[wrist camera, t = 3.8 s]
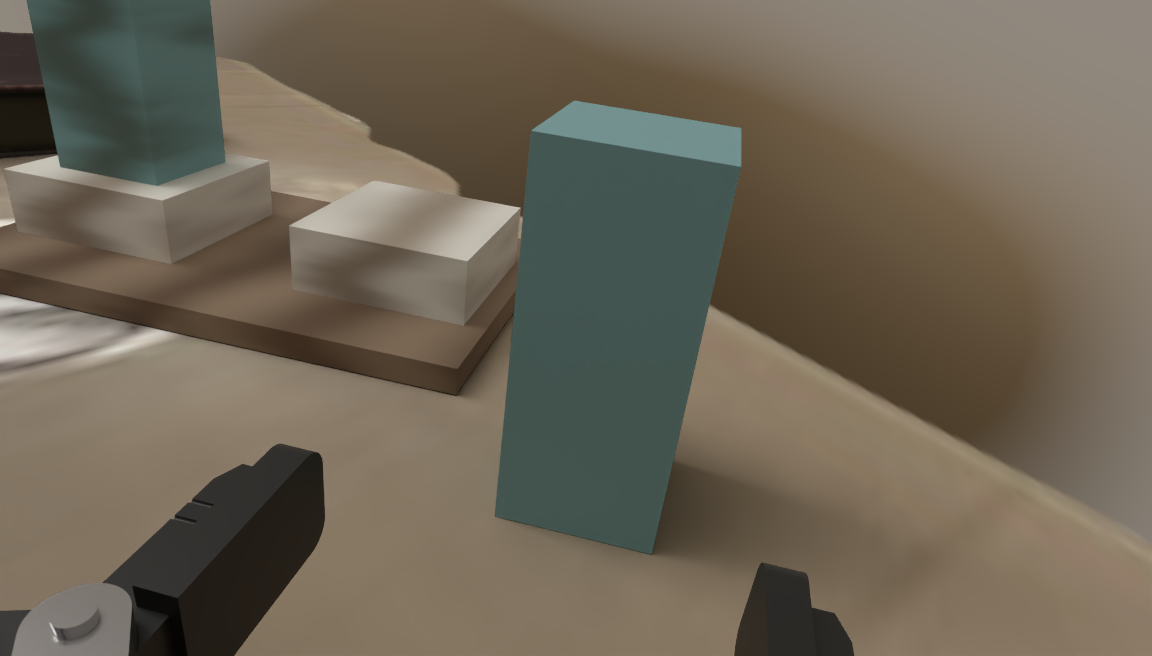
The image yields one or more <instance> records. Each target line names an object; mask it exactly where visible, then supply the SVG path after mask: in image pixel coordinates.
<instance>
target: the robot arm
mask: <svg viewBox="0 0 1152 656" xmlns="http://www.w3.org/2000/svg"><path fill="white" fill-rule="evenodd" d="M324 521H325V507H324V483H323V462H322V457H321V455H320V454H319V453H317V452H313V451H309V450H305V449H300V448H296V447H292V446H288V445H284V444H277V445H275V446H273V447H272V448H271V449H270V450H269V451H268V452H267V453H266V454H265V455H264V456H263V457H262V458H261V459H260V460H259V461H258V462H257V463H256V464H255V465H254V466H253V467H252V466H248V465H244V464H242V465H240V466H238V467H236V468H234V469H232V470H230V471H228V472H226V473H224V474H222V475H220V476H218V477H216V478H214V479H213V480H212V481H211V482H210V483H209V484H208V485H207V486H206V487H204V488H203V489H202V490H201V491H200V492H199V493H198V494H197V495H196V496H195V497H194V498H193V500H192V502H191V503H187V504H186V505H185V506H184V507H183V508H182V509H181V510H180V511H179V512H178V513H177V514H176V515H175V518H174V519H173V520H172V519H170V520H169V521H168V522H167V523H166V524H165V525H164V526H163V527H162V528H161V529H160V530H159V531H157V532H156V533H155V534H154V535H153V536H152V537H151V538H150V539H149V540H148V541H147V542H146V543H145V544H144V545H143V546H141V547H140V548H139V549H138V550H137V551H136V552H135V553H134V554H133V555H132V556H131V557H130V558H129V559H128V560H127V561H125V562H124V563H123V564H122V565H121V566H120V567H119V568H118V569H117V570H116V571H115V572H114V573H113V574H112V575H111V576H109V577H108V578H107V579H106V580H105V581H104V582H103V583H89V584H82V585H78V586H74V587H71V588H68V589H65V590H63V591H60V592H58V593H56V594H54V595H52V596H50V597H49V598H47V599H45V600H44V601H42V602H41V603H40V604H38V605H37V606H36V607H35V608H33V609H32V610H17V611H0V656H234V655H235V654H236V652H237V651H238V650H239V648H240V647H241V646H242V644H243V643H244V642H245V640H246V639H247V638H248V636H249V635H250V634H251V632H252V631H253V630H254V629H255V627H256V626H257V625H258V623H259V622H260V621H261V619H262V618H263V617H264V615H265V614H266V613H267V611H268V610H269V609H270V607H271V606H272V605H273V603H274V602H275V601H276V599H277V598H278V597H279V595H280V594H281V593H282V592H283V590H284V589H285V588H286V586H287V585H288V584H289V582H290V581H291V580H292V578H293V577H294V576H295V574H296V573H297V572H298V570H299V569H300V568H301V566H302V565H303V564H304V562H305V561H306V560H307V558H308V557H309V556H310V555H311V553H312V552H313V550H314V549H315V547H316V545H317V543H318V541H319V539H320V537H321V534H322V530H323V527H324ZM734 656H854V652H853V646H852V642H851V640H850V638H849V637H848V635H847V633H846V632H845V630H844V628H843V627H842V625H841V623H840V622H839V620H838V618H837V616H836V615H835V613H831V612H827V611H823V610H819V609H815V608H812V607H811V598H810V589H809V581H808V576H807V574H806V573H803V572H799V571H795V570H791V569H787V568H783V567H779V566H775V565H771V564H767V563H761V564H760V566H759V568H758V570H757V573H756V576H755V580H754V583H753V586H752V589H751V592H750V595H749V598H748V601H747V604H746V607H745V610H744V613H743V616H742V619H741V622H740V626H739V630H738V634H737V639H736V646H735V654H734Z"/></svg>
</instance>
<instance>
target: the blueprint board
mask: <svg viewBox="0 0 1152 656" xmlns="http://www.w3.org/2000/svg"><path fill="white" fill-rule="evenodd" d="M27 5H28V10H29V15H30V20H31V24H32V30H33V34H34V39H35V44H36V49H37V54H38V59H39V64H40V69H41V74H42V79H43V84H44V89H45V94H46V99H47V104H48V109H49V114H50V119H51V124H52V129H53V134H54V139H55V144H56V149H57V154H58V155H57V156H53V157H49V158H45V159H41V160H37V161H33V162H29V163H25V164H21V165H17V166H13V167H9V168H5V169H3V170H4V175H5V179H6V183H7V187H8V191H9V196H10V200H11V204H12V208H13V212H14V217H15V221H16V223H13V224H10V225H7V226H4V227H1V228H0V293H3V294H7V295H12V296H16V297H21V298H25V299H30V300H34V301H38V302H43V303H47V304H52V305H56V306H61V307H65V308H70V309H74V310H79V311H83V312H88V313H92V314H96V315H101V316H105V317H110V318H114V319H119V320H123V321H128V322H132V323H137V324H141V325H146V326H150V327H154V328H159V329H163V330H168V331H172V332H177V333H181V334H186V335H190V336H195V337H199V338H203V339H208V340H212V341H217V342H221V343H226V344H230V345H235V346H239V347H244V348H248V349H253V350H257V351H261V352H266V353H270V354H275V355H279V356H284V357H288V358H293V359H297V360H302V361H306V362H310V363H315V364H319V365H324V366H328V367H333V368H337V369H342V370H346V371H351V372H355V373H360V374H364V375H368V376H373V377H377V378H382V379H386V380H391V381H395V382H400V383H404V384H409V385H413V386H418V387H422V388H426V389H431V390H435V391H440V392H444V393H449V394H453V395H456V394H457V393H458V391H459V390H460V389H461V387H462V386H463V384H464V383H465V381H466V380H467V379H468V377H469V376H470V374H471V373H472V371H473V370H474V368H475V367H476V366H477V364H478V363H479V361H480V360H481V358H482V357H483V356H484V354H485V353H486V351H487V350H488V348H489V347H490V346H491V344H492V343H493V341H494V340H495V338H496V337H497V335H498V334H499V333H500V331H501V330H502V328H503V327H504V325H505V324H506V323H507V321H508V320H509V318H510V317H511V315H512V314H513V313H514V308H515V297H516V286H517V276H518V265H519V255H520V244H521V239H518V229H519V218H520V208H518V207H513V206H507V205H502V204H496V203H491V202H486V201H480V200H475V199H470V198H464V197H459V196H454V195H448V194H443V193H438V192H432V191H427V190H422V189H416V188H411V187H406V186H400V185H395V184H390V183H384V182H379V181H372V182H370V183H368V184H366V185H364V186H363V187H361V188H359V189H357V190H355V191H353V192H351V193H349V194H348V195H346V196H344V197H342V198H340V199H338V200H336V201H334V202H332V203H330V202H325V201H319V200H314V199H309V198H304V197H299V196H294V195H288V194H283V193H278V192H273V191H271V185H270V171H269V161H267V160H261V159H256V158H251V157H245V156H240V155H234V154H229V153H225V151H224V141H223V130H222V120H221V110H220V99H219V89H218V79H217V68H216V58H215V47H214V37H213V27H212V16H211V6H210V0H27Z"/></svg>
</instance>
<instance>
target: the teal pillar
mask: <svg viewBox="0 0 1152 656" xmlns="http://www.w3.org/2000/svg"><path fill="white" fill-rule="evenodd" d="M740 169H741V128H736V127H730V126H724V125H718V124H712V123H706V122H700V121H694V120H688V119H682V118H676V117H670V116H664V115H658V114H652V113H645V112H640V111H634V110H627V109H621V108H615V107H609V106H603V105H597V104H591V103H585V102H579V101H573V102H572V103H570V104H569V105H567V106H566V107H565V108H563V109H562V110H560V111H559V112H557V113H556V114H555V115H553V116H552V117H550V118H549V119H547V120H546V121H545V122H543V123H542V124H540V125H539V126H537V127H536V128H534V129H533V130H532V131H531V138H530V149H529V160H528V170H527V181H526V192H525V203H524V213H523V223H522V234H521V244H520V255H519V265H518V276H517V286H516V297H515V308H514V318H513V329H512V339H511V350H510V360H509V371H508V382H507V392H506V403H505V413H504V424H503V434H502V445H501V456H500V466H499V477H498V487H497V498H496V508H495V516H496V517H500V518H504V519H508V520H512V521H516V522H520V523H524V524H528V525H533V526H537V527H541V528H545V529H549V530H553V531H557V532H561V533H565V534H569V535H573V536H578V537H582V538H586V539H590V540H594V541H598V542H602V543H606V544H610V545H614V546H618V547H623V548H627V549H631V550H635V551H639V552H643V553H647V554H651V555H652V551H653V547H654V543H655V538H656V534H657V530H658V525H659V521H660V517H661V512H662V508H663V504H664V499H665V495H666V491H667V486H668V482H669V477H670V473H671V469H672V464H673V460H674V456H675V451H676V447H677V443H678V438H679V434H680V430H681V425H682V421H683V417H684V412H685V408H686V404H687V399H688V395H689V391H690V386H691V382H692V378H693V373H694V369H695V365H696V360H697V356H698V351H699V347H700V343H701V338H702V334H703V330H704V325H705V321H706V317H707V312H708V308H709V304H710V299H711V295H712V291H713V286H714V282H715V278H716V273H717V269H718V264H719V260H720V256H721V252H722V247H723V243H724V239H725V234H726V230H727V225H728V221H729V216H730V212H731V208H732V204H733V199H734V195H735V191H736V186H737V182H738V178H739V173H740Z"/></svg>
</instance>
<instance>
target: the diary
mask: <svg viewBox="0 0 1152 656" xmlns="http://www.w3.org/2000/svg"><path fill="white" fill-rule="evenodd" d="M46 154H57V149H56V144H55V139H54V134H53V129H52V124H51V119H50V114H49V109H48V104H47V99H46V94H45V89H44V84H43V79H42V74H41V69H40V64H39V59H38V54H37V49H36V44H35V39H34V34H32V33H9V32H0V158H11V157H22V156H34V155H46Z"/></svg>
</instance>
